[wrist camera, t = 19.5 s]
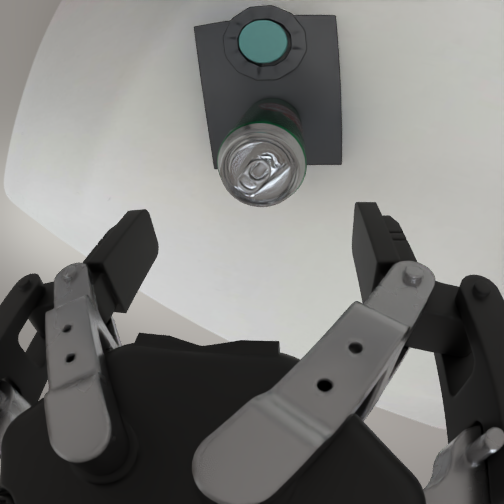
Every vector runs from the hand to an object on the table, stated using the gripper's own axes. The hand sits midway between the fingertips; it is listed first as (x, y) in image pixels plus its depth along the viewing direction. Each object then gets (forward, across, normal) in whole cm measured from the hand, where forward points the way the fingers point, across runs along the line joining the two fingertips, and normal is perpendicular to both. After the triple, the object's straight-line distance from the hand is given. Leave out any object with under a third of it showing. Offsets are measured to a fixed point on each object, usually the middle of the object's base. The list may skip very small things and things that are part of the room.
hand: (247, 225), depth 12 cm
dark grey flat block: (+19, 0, -3) cm, 19 cm away
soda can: (+18, 0, 0) cm, 18 cm away
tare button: (+16, 0, -7) cm, 18 cm away
